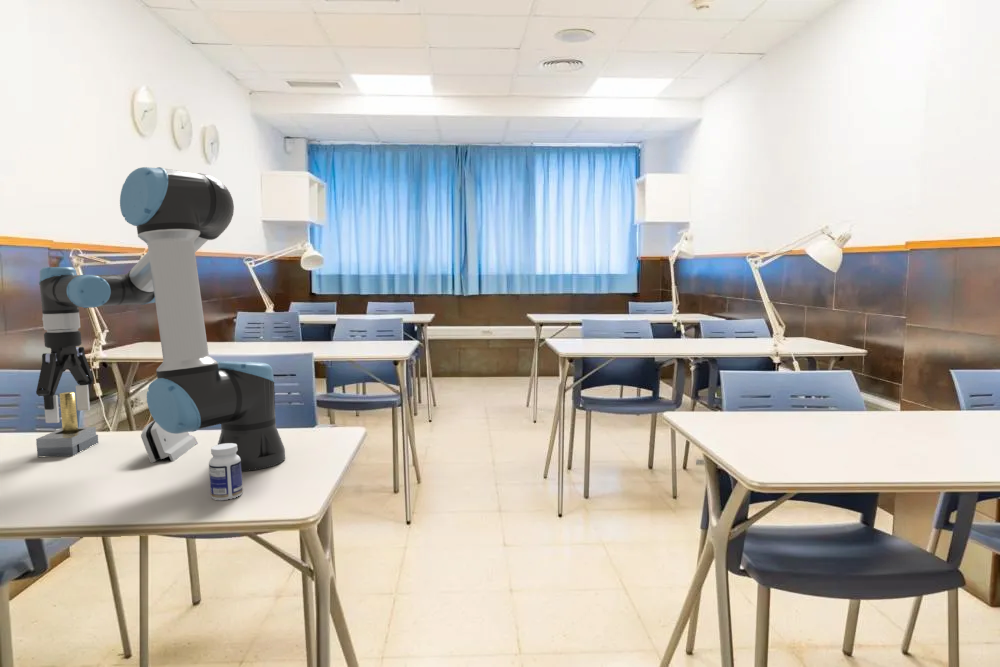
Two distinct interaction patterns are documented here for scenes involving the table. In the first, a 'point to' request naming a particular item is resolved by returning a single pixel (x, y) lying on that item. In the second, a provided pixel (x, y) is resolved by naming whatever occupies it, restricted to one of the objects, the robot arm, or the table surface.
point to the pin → (68, 413)
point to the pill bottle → (225, 472)
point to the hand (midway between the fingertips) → (68, 416)
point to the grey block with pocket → (66, 442)
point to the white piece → (165, 442)
